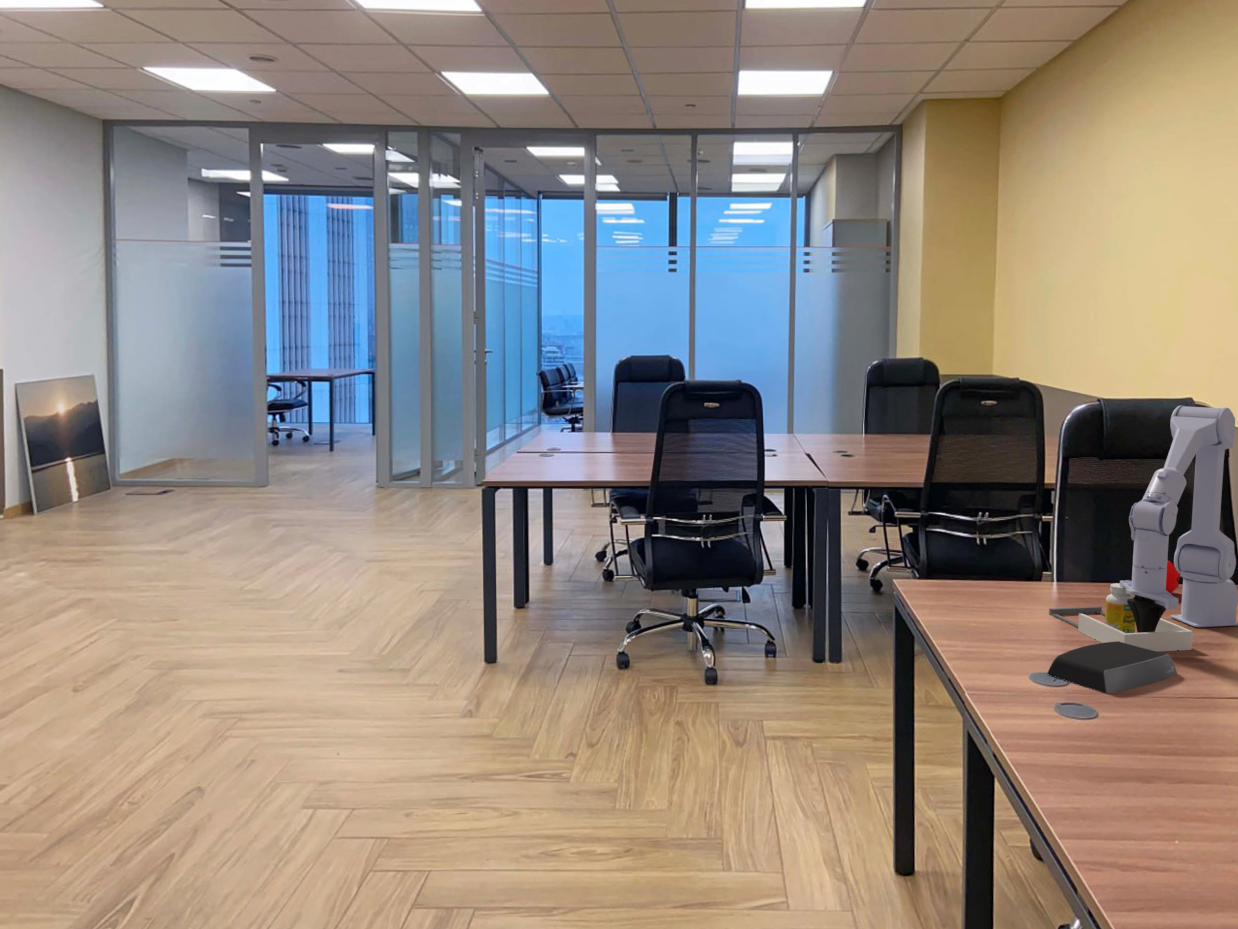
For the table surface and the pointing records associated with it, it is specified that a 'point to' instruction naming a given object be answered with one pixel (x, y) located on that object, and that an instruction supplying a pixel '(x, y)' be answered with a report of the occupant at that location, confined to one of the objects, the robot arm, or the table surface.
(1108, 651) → the external hard drive
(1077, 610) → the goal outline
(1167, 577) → the ball
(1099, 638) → the bay
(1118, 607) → the supplement bottle
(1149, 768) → the table surface
